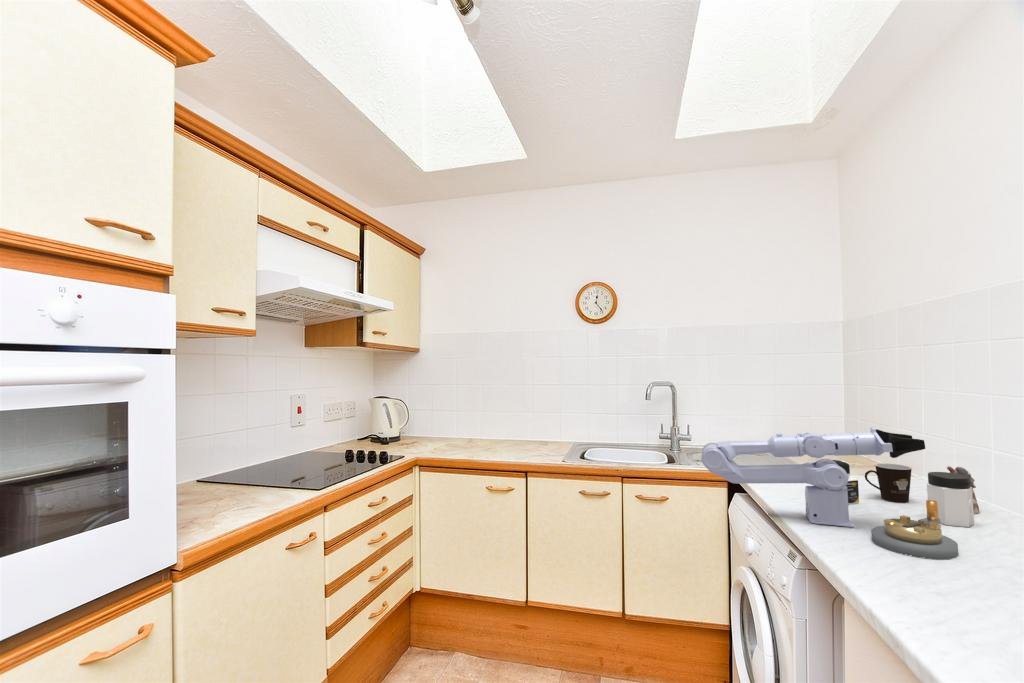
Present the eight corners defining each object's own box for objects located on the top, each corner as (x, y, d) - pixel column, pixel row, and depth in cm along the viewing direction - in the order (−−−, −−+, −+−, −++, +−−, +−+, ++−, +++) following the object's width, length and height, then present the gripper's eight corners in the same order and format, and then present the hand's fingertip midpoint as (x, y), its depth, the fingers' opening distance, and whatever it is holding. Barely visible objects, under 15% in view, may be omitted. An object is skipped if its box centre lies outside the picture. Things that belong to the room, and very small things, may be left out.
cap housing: (883, 553, 103) (882, 544, 103) (863, 530, 117) (863, 522, 117) (972, 563, 97) (971, 553, 98) (940, 538, 111) (940, 530, 111)
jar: (967, 529, 117) (964, 480, 117) (925, 521, 123) (922, 474, 124) (978, 522, 122) (974, 475, 122) (936, 514, 128) (934, 470, 129)
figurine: (983, 515, 127) (980, 470, 127) (948, 511, 130) (945, 468, 131) (975, 508, 133) (972, 465, 133) (941, 505, 137) (939, 463, 137)
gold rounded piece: (925, 547, 101) (923, 514, 101) (874, 532, 110) (873, 502, 111) (962, 537, 106) (960, 506, 106) (911, 524, 115) (909, 495, 116)
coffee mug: (910, 498, 144) (908, 465, 144) (916, 505, 136) (914, 470, 137) (863, 493, 150) (861, 461, 150) (866, 500, 142) (864, 466, 143)
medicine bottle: (841, 505, 138) (839, 464, 138) (819, 499, 145) (817, 459, 145) (859, 503, 140) (857, 462, 140) (837, 496, 147) (835, 457, 147)
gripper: (858, 432, 117) (927, 429, 112) (843, 425, 130) (904, 422, 125) (863, 461, 116) (932, 459, 111) (847, 450, 130) (909, 449, 124)
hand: (918, 441), depth 118 cm, fingers open, 7 cm apart
